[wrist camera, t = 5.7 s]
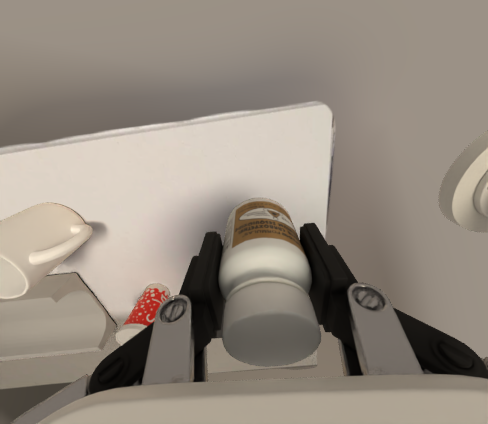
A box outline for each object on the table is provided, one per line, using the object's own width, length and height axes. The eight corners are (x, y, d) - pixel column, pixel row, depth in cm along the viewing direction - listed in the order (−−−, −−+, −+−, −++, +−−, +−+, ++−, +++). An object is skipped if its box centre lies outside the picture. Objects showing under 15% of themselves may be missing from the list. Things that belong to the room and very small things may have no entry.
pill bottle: (299, 203, 13) (362, 313, 6) (278, 253, 15) (307, 379, 8) (233, 189, 12) (218, 290, 5) (222, 243, 14) (200, 366, 7)
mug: (96, 194, 28) (27, 235, 19) (121, 240, 32) (73, 292, 23) (19, 204, 28) (-84, 249, 19) (53, 248, 32) (-21, 302, 23)
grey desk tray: (14, 335, 44) (-30, 379, 37) (-70, 268, 34) (-153, 310, 27) (117, 324, 43) (93, 367, 35) (62, 251, 33) (12, 291, 26)
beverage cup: (177, 300, 39) (148, 388, 27) (148, 303, 39) (106, 391, 27) (168, 279, 36) (130, 367, 24) (136, 282, 36) (83, 371, 24)
